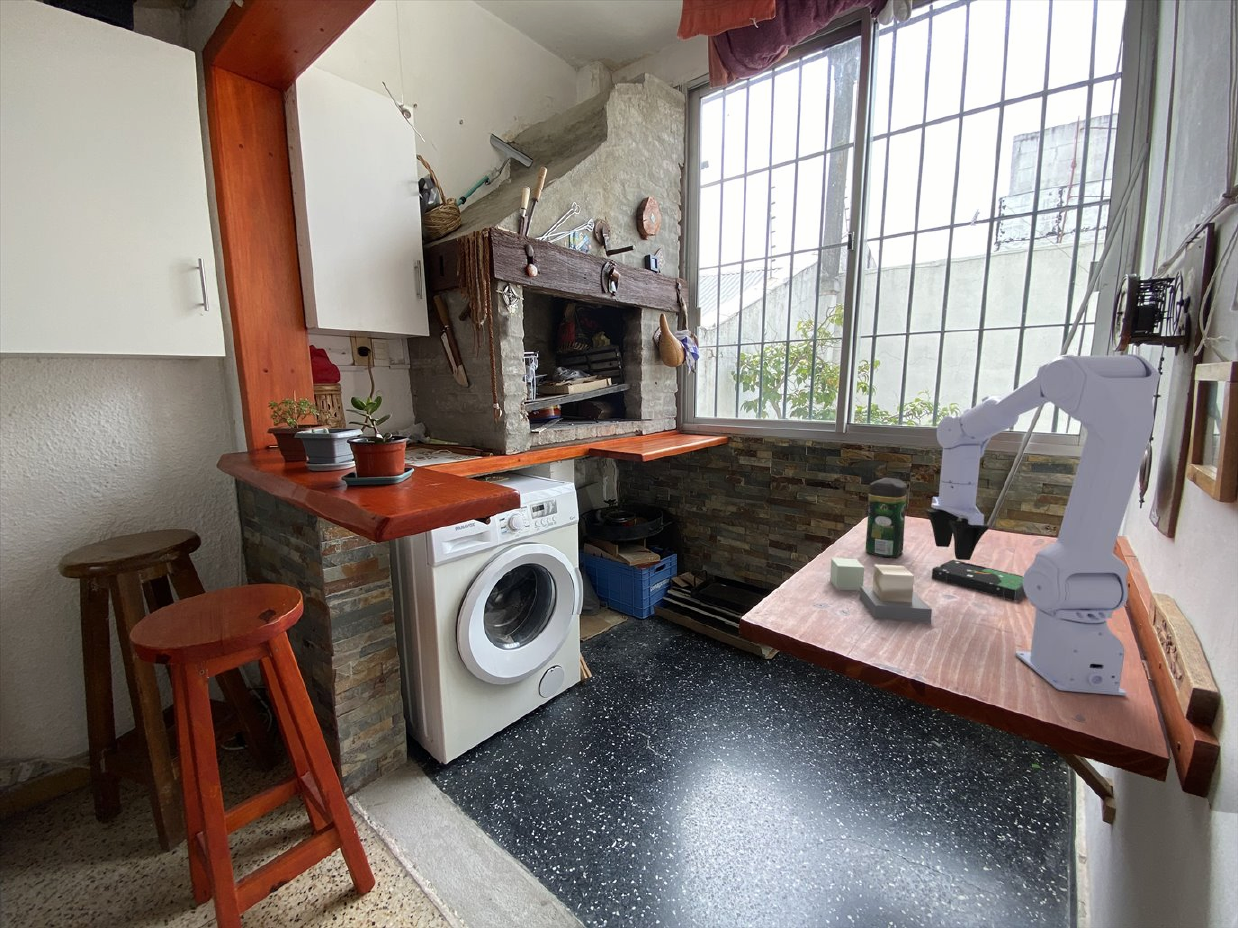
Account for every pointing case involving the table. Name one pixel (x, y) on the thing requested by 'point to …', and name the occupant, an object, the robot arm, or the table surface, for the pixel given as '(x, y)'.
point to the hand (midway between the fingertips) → (952, 552)
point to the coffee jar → (886, 517)
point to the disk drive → (981, 579)
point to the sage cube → (846, 574)
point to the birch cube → (893, 583)
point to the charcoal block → (895, 607)
